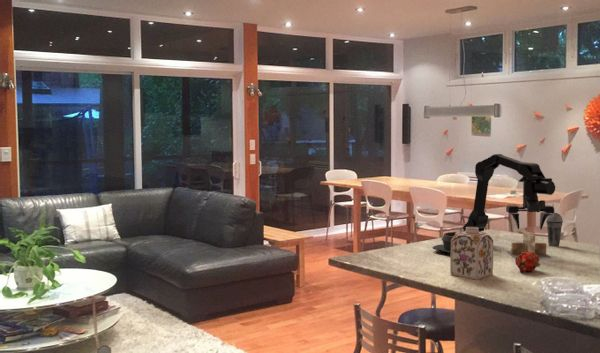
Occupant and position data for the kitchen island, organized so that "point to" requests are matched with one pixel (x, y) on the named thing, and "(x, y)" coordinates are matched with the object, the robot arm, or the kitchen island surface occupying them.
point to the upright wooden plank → (529, 241)
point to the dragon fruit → (527, 261)
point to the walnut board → (521, 247)
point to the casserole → (445, 242)
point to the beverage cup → (554, 228)
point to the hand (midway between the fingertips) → (529, 229)
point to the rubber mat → (538, 255)
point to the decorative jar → (471, 254)
